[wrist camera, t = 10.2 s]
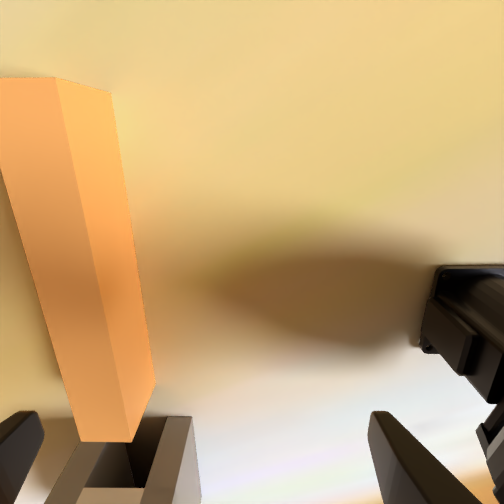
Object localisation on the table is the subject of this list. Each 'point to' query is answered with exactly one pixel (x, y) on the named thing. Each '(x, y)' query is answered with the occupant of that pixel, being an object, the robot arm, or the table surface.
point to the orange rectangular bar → (79, 247)
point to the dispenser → (120, 475)
